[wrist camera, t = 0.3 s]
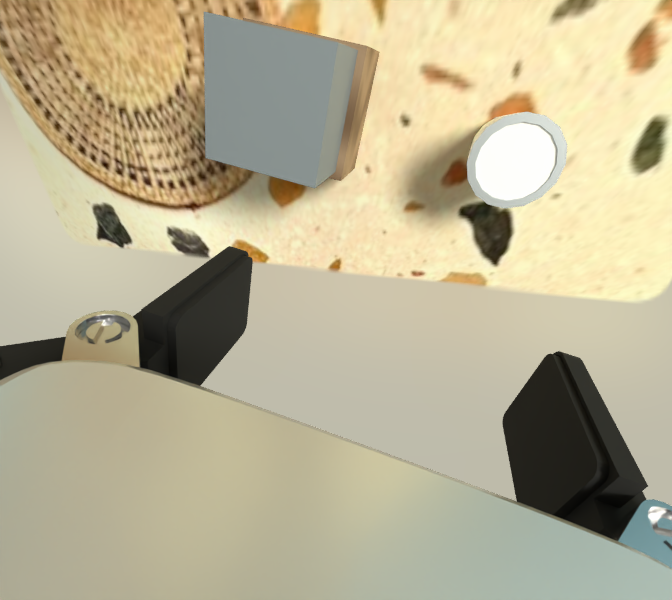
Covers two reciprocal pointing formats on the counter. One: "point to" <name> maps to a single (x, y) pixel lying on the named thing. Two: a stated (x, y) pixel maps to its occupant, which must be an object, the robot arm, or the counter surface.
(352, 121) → the walnut base block
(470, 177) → the shot glass
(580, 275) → the counter surface
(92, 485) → the robot arm
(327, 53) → the slate top block
